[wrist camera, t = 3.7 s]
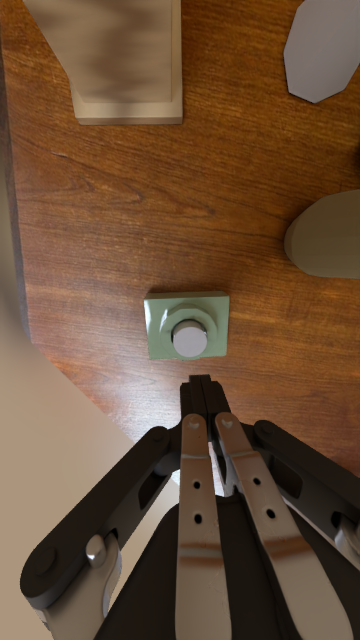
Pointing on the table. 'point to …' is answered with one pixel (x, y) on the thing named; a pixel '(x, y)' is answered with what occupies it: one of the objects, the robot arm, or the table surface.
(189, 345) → the grey push button
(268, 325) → the table surface
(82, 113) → the stand
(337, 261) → the squeeze bottle
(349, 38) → the flask
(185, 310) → the green button base
